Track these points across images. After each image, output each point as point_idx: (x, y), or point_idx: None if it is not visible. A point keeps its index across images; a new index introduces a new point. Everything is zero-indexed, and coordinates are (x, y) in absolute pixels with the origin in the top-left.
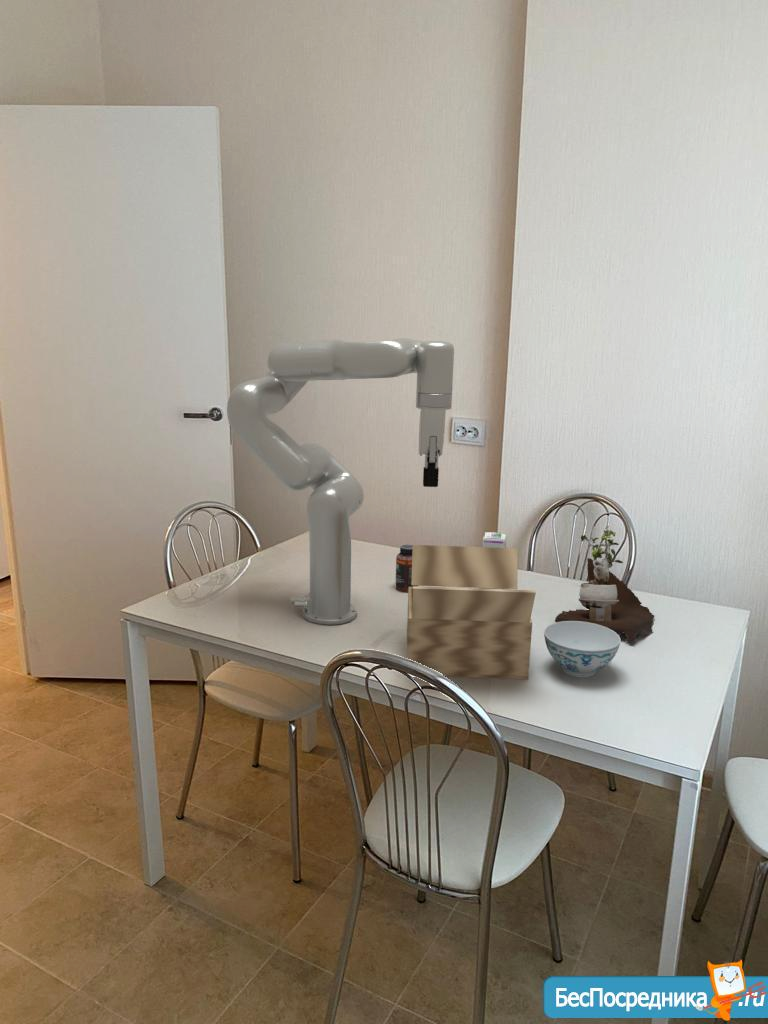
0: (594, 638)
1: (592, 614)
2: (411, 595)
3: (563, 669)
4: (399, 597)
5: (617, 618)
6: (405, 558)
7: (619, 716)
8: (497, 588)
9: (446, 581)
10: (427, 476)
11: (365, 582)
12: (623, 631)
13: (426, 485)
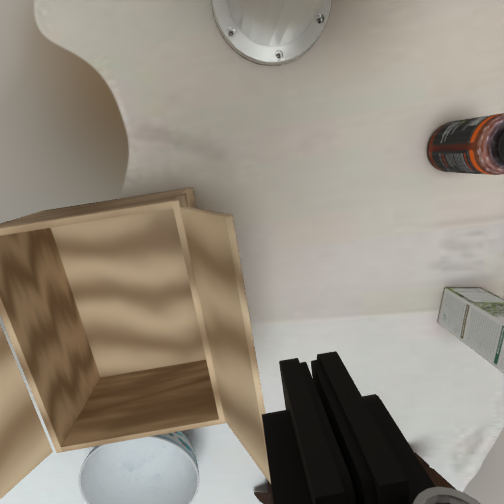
0: (188, 477)
1: None
2: (119, 216)
3: None
4: (397, 139)
5: None
6: (483, 141)
7: (34, 475)
8: (443, 319)
9: (201, 291)
10: (268, 458)
11: (483, 43)
12: (270, 493)
13: (282, 383)
